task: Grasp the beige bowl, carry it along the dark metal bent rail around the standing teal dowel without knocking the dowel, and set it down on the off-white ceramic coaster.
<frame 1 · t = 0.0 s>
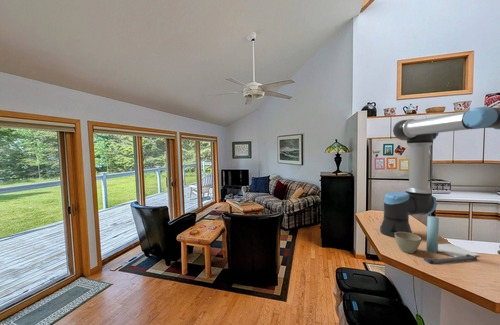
beige bowl: (407, 251, 98), on the countertop
coaster: (453, 250, 98), on the countertop
dowel: (432, 251, 97), on the countertop
rail: (452, 261, 88), on the countertop
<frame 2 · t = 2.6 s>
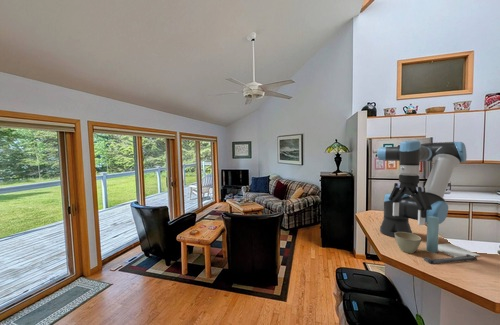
hand: (407, 219, 97), 15 cm above the countertop, fingers open, 13 cm apart
nothing on the countertop moved.
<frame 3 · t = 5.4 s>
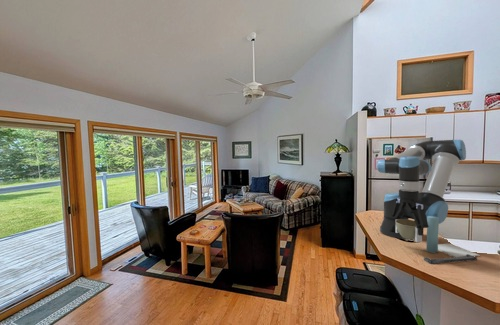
hand: (408, 236, 98), 7 cm above the countertop, fingers closed on beige bowl, 10 cm apart
beige bowl: (408, 237, 98), point 6 cm above the countertop, touching gripper
everything else where it was.
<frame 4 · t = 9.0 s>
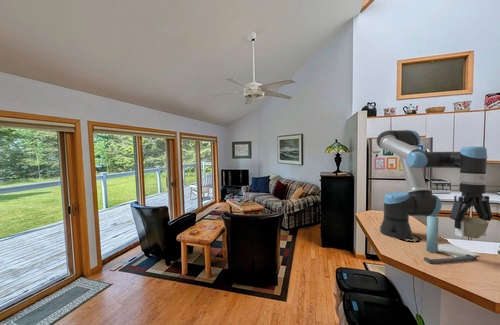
hand: (470, 235, 89), 11 cm above the countertop, fingers closed on beige bowl, 10 cm apart
beige bowl: (470, 236, 89), point 10 cm above the countertop, touching gripper
everything else where it was.
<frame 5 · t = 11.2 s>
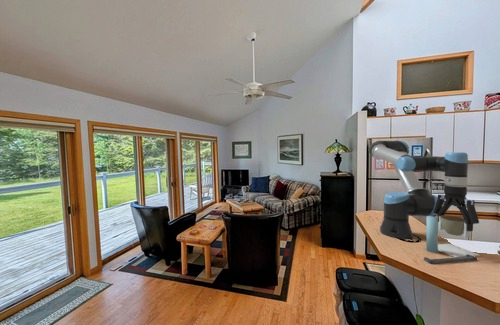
hand: (453, 233, 97), 8 cm above the countertop, fingers closed on beige bowl, 10 cm apart
beige bowl: (453, 234, 97), point 8 cm above the countertop, touching gripper
everything else where it was.
when the fingers open (2 cm above the countertop, at t = 12.8 s): beige bowl stays where it is, resting on coaster.
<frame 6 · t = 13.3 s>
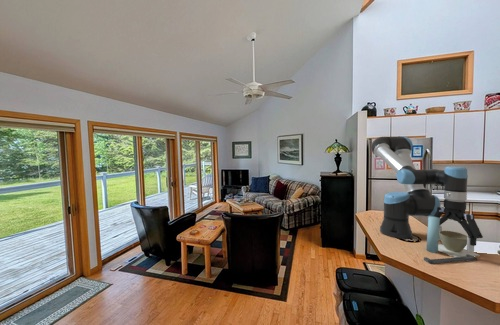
hand: (453, 245, 97), 3 cm above the countertop, fingers open, 13 cm apart
beige bowl: (452, 250, 98), resting on coaster
everything else where it was.
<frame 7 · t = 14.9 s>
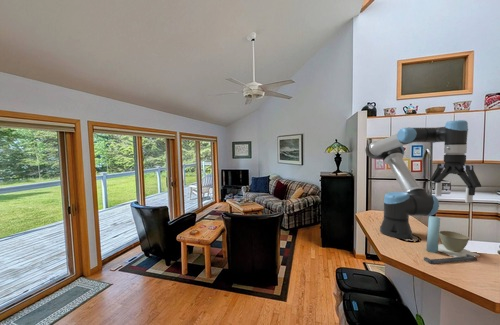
hand: (452, 198, 99), 24 cm above the countertop, fingers open, 13 cm apart
nothing on the countertop moved.
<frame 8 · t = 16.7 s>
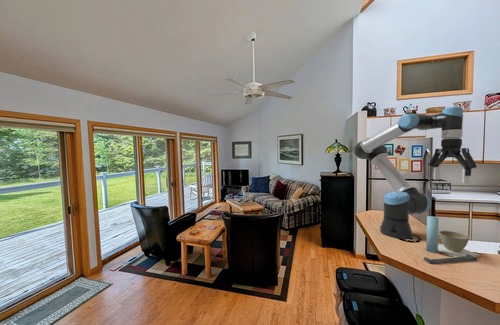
hand: (450, 181, 105), 32 cm above the countertop, fingers open, 13 cm apart
nothing on the countertop moved.
at the end: beige bowl inside the target area on the coaster (0.1 cm from its centre), point 0.4 cm above the coaster's base; beige bowl tilted 0°; dowel moved 0.0 cm from its start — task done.
